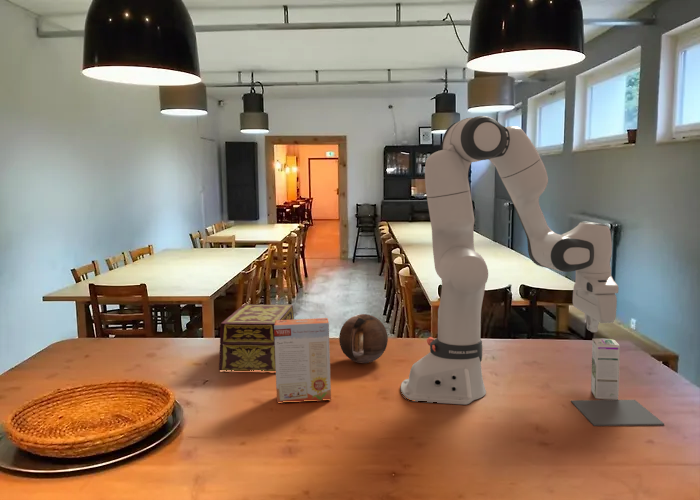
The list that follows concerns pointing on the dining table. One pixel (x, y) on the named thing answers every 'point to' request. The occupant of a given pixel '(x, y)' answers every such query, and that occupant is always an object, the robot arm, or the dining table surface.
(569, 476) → the dining table surface
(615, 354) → the syrup box
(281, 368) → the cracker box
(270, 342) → the decorative box
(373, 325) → the wooden sphere
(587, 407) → the mat
